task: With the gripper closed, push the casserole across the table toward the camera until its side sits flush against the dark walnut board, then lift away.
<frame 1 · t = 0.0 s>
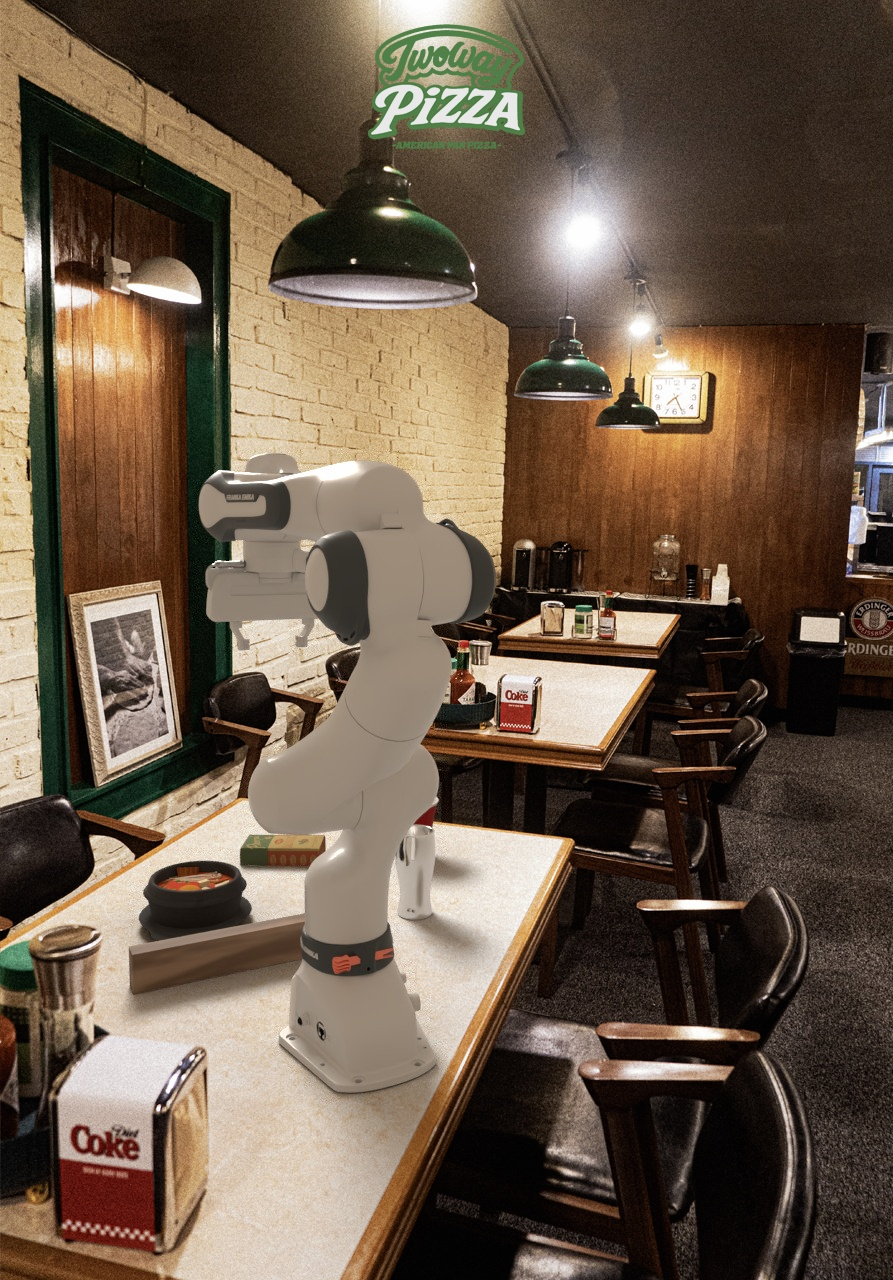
hand: (272, 648, 151), 48 cm above the table, fingers open, 8 cm apart
plastic cup: (411, 857, 196), on the table
walnut board: (226, 969, 145), on the table
beer glass: (414, 914, 168), on the table
carton: (283, 861, 193), on the table
casserole: (196, 923, 163), on the table
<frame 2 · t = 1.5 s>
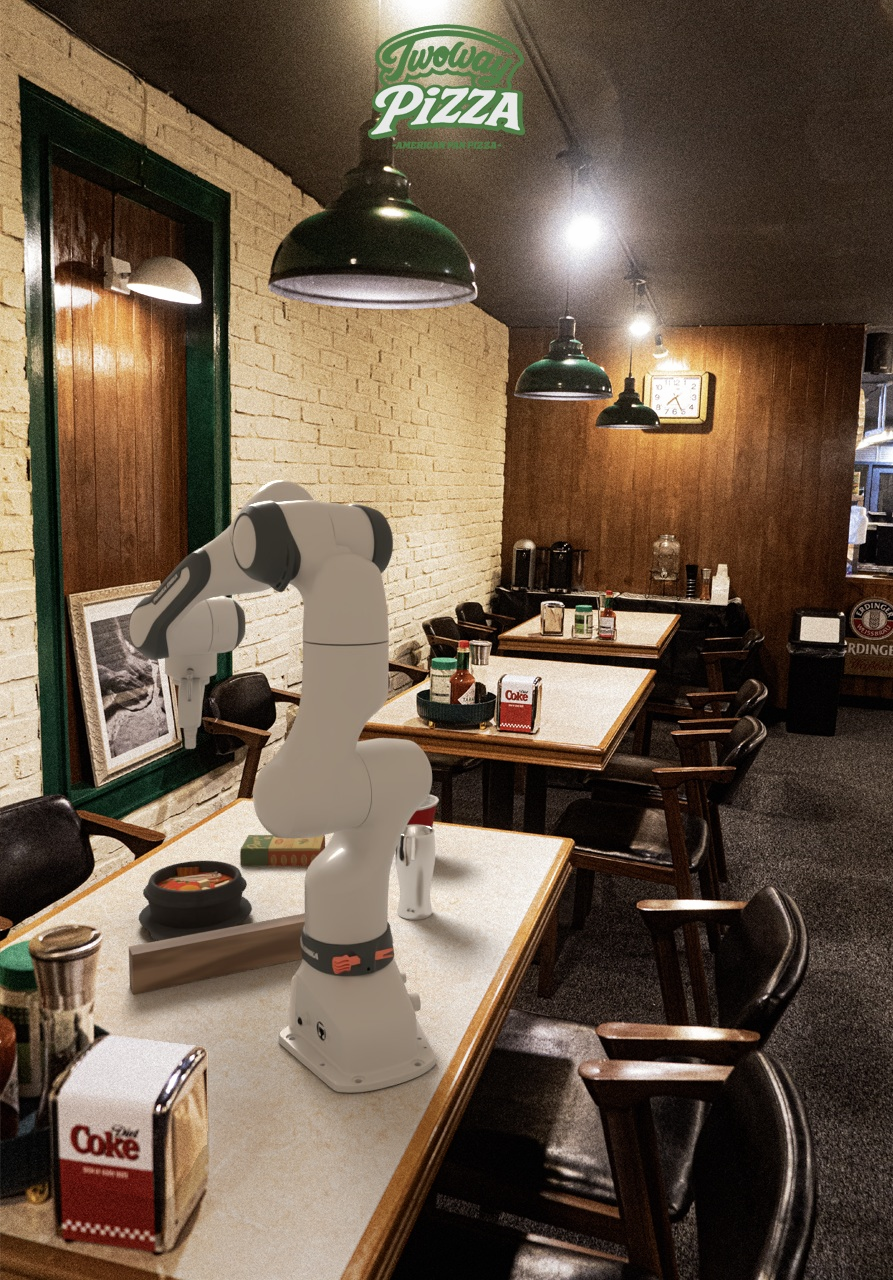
hand: (191, 740, 170), 29 cm above the table, fingers open, 8 cm apart
nothing on the table moved.
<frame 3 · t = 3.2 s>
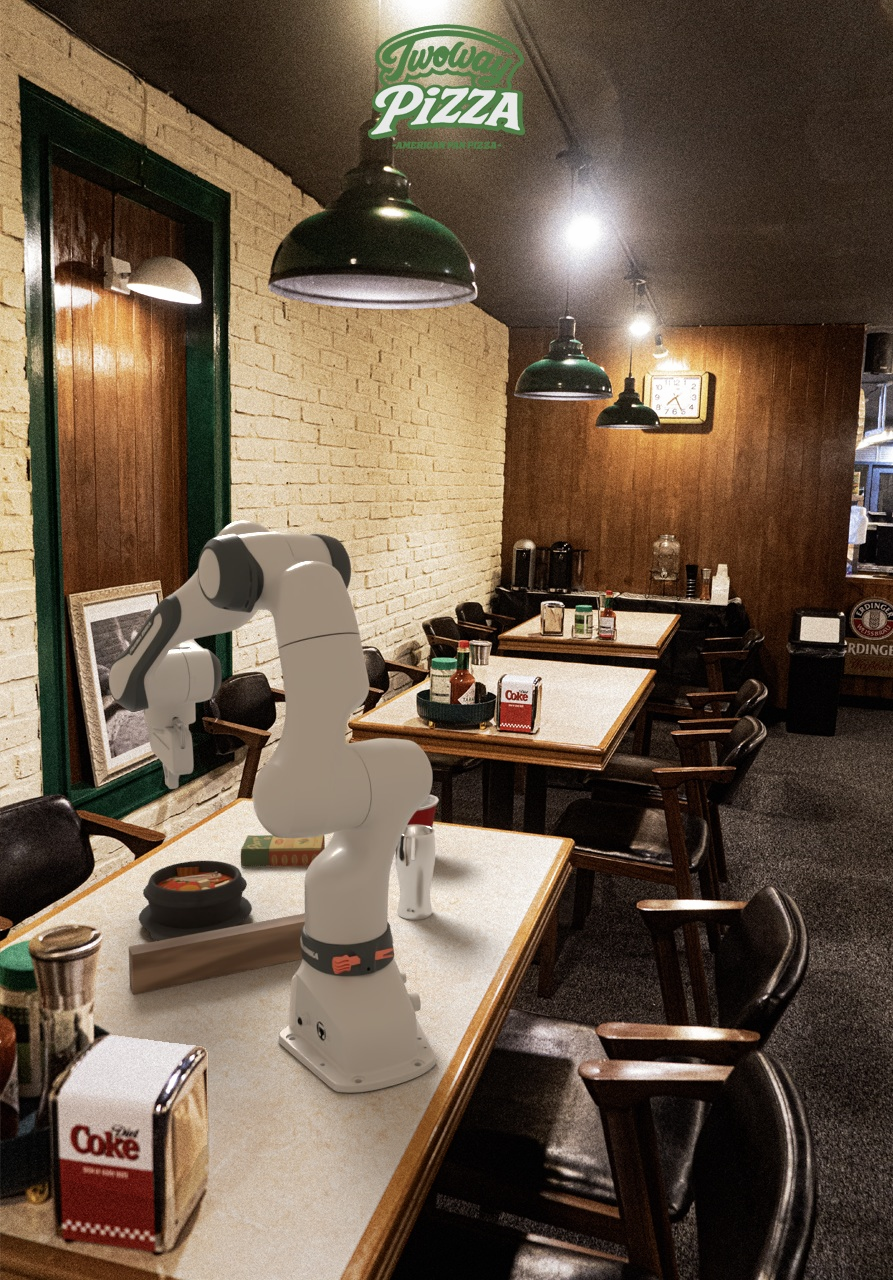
hand: (171, 786, 175), 19 cm above the table, fingers closed
nothing on the table moved.
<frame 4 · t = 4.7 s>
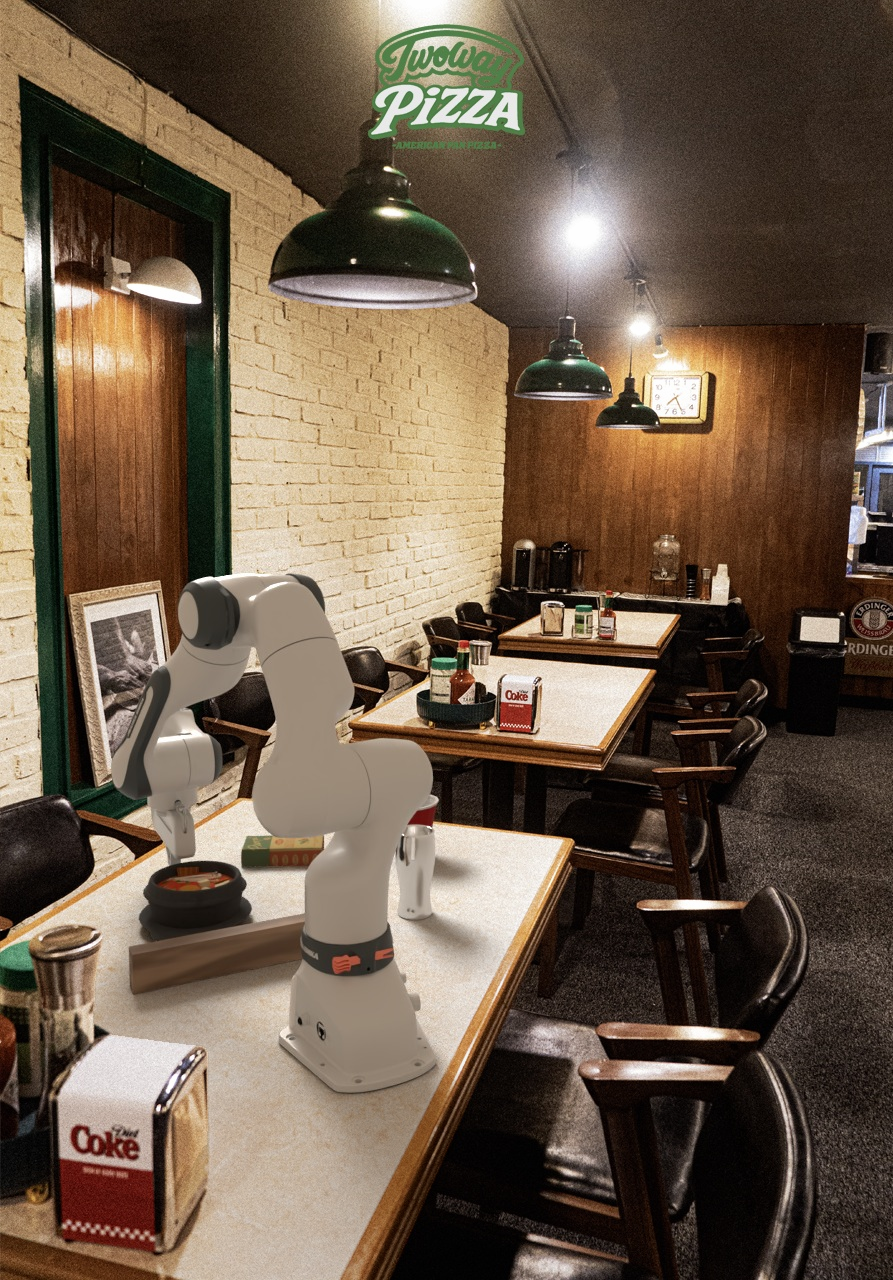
hand: (174, 866, 177), 4 cm above the table, fingers closed
nothing on the table moved.
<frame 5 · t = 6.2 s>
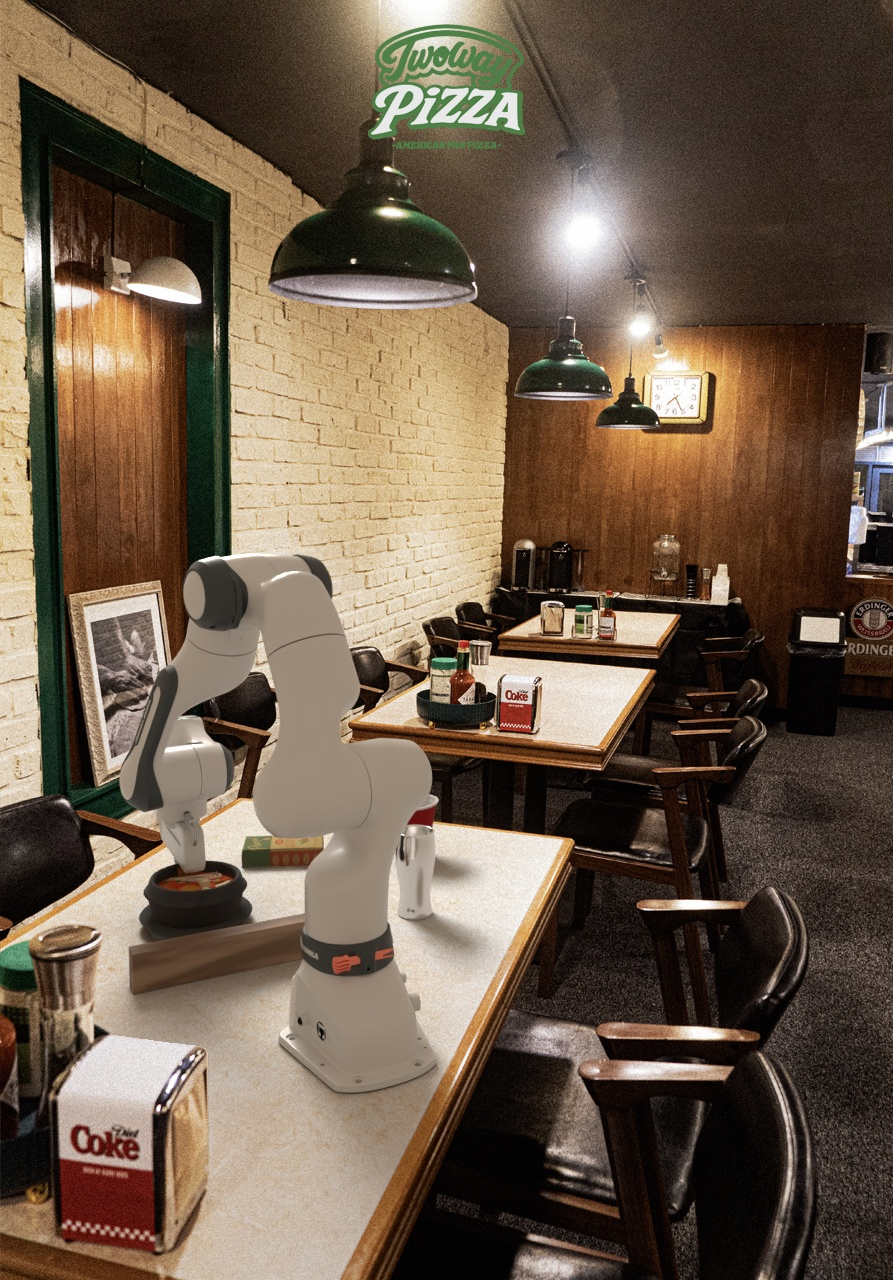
hand: (183, 880, 171), 4 cm above the table, fingers closed
casserole: (196, 923, 162), on the table, touching gripper
everything else where it was.
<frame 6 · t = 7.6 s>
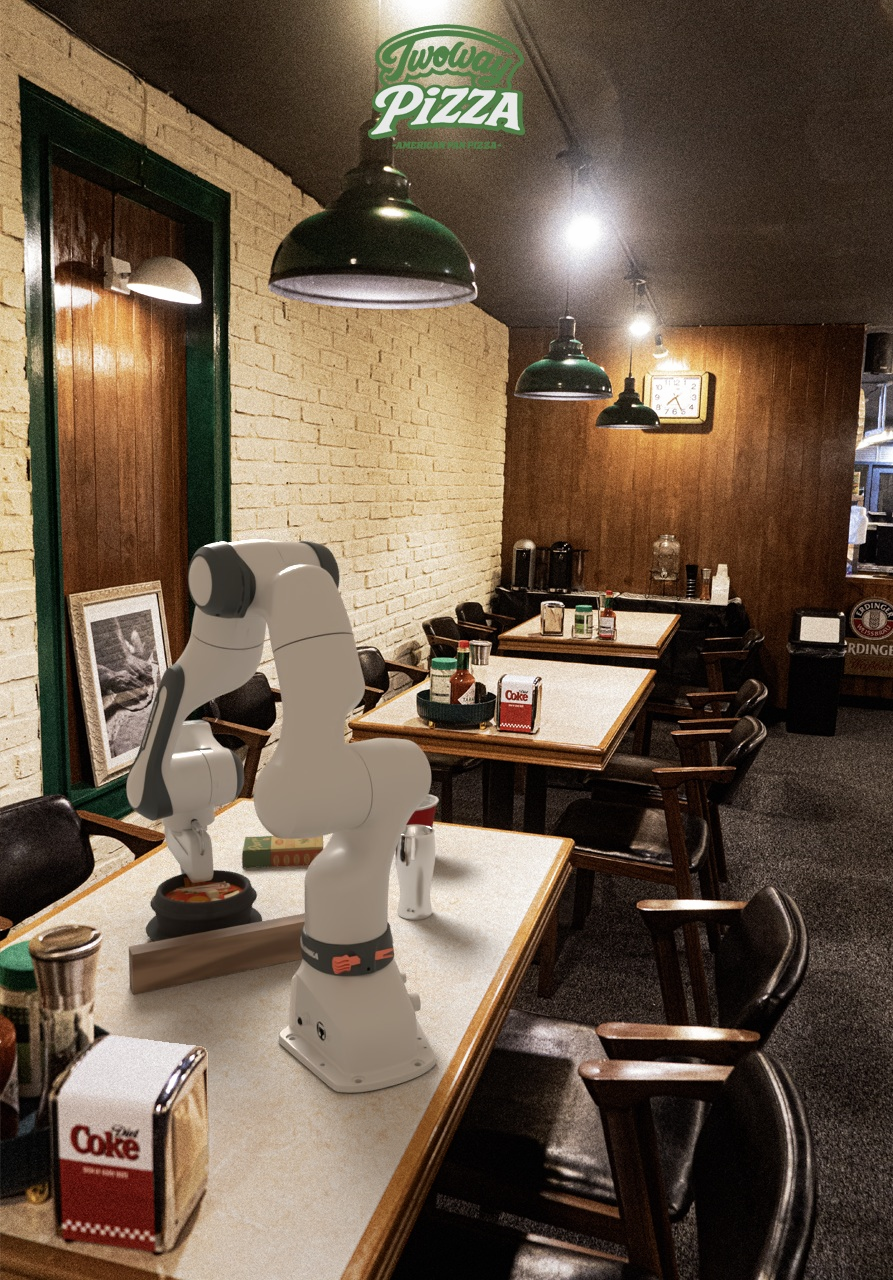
hand: (189, 889, 166), 4 cm above the table, fingers closed
casserole: (205, 935, 158), on the table, touching gripper
everything else where it was.
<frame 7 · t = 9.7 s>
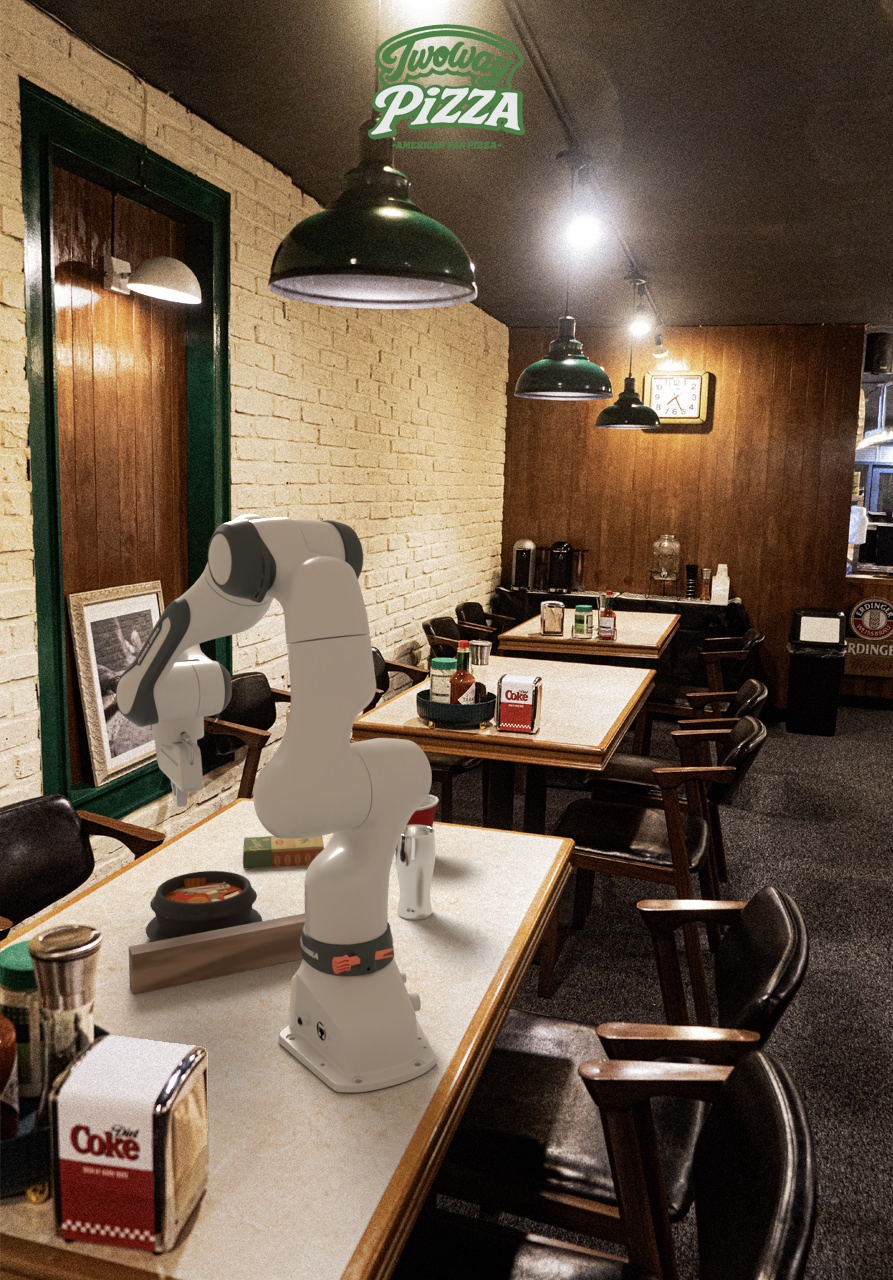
hand: (180, 804, 170), 18 cm above the table, fingers closed
casserole: (205, 936, 158), on the table
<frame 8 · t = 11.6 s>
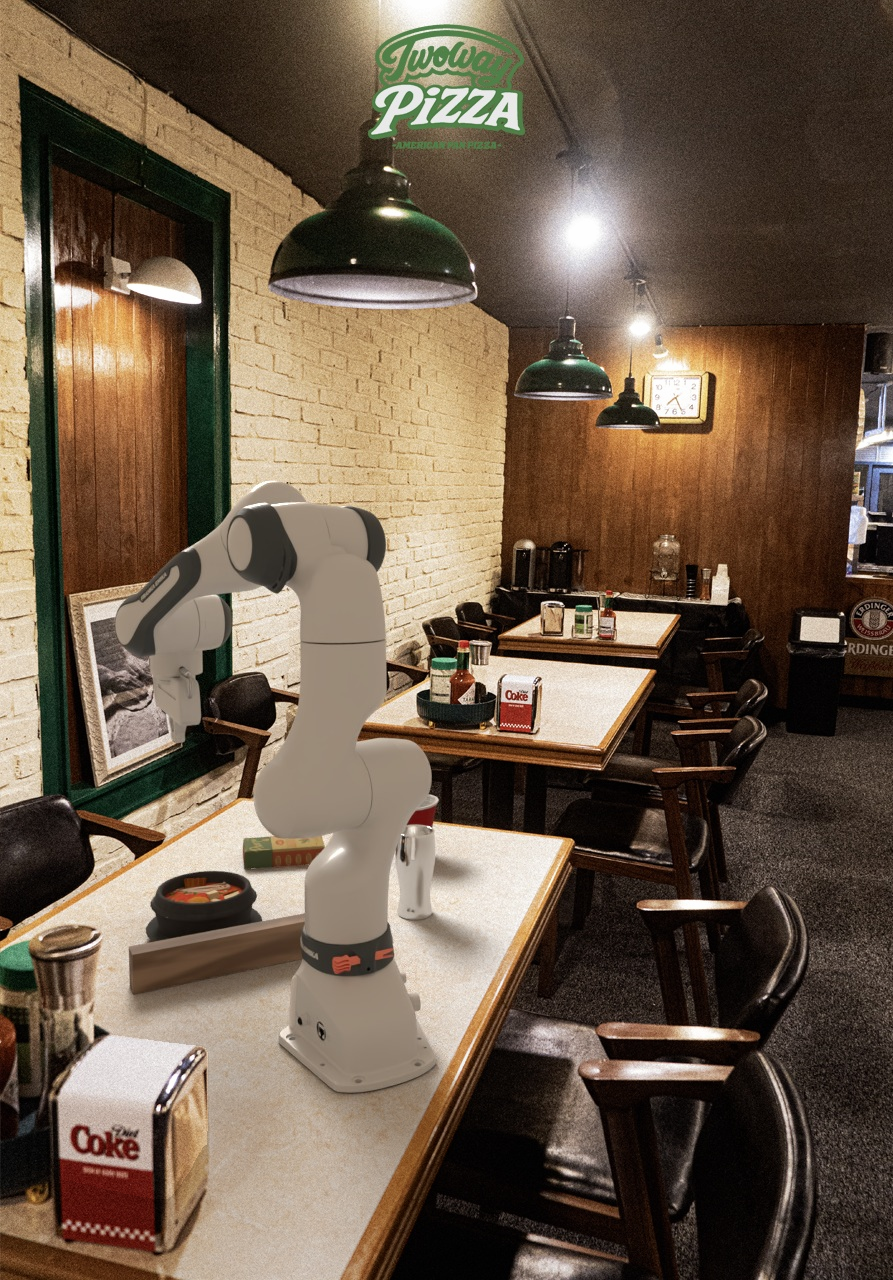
hand: (178, 741, 169), 29 cm above the table, fingers closed
at the end: casserole 0.3 cm from the target spot on the table beside the walnut board, on the table; casserole moved 5.6 cm from its start; casserole tilted 0° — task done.
